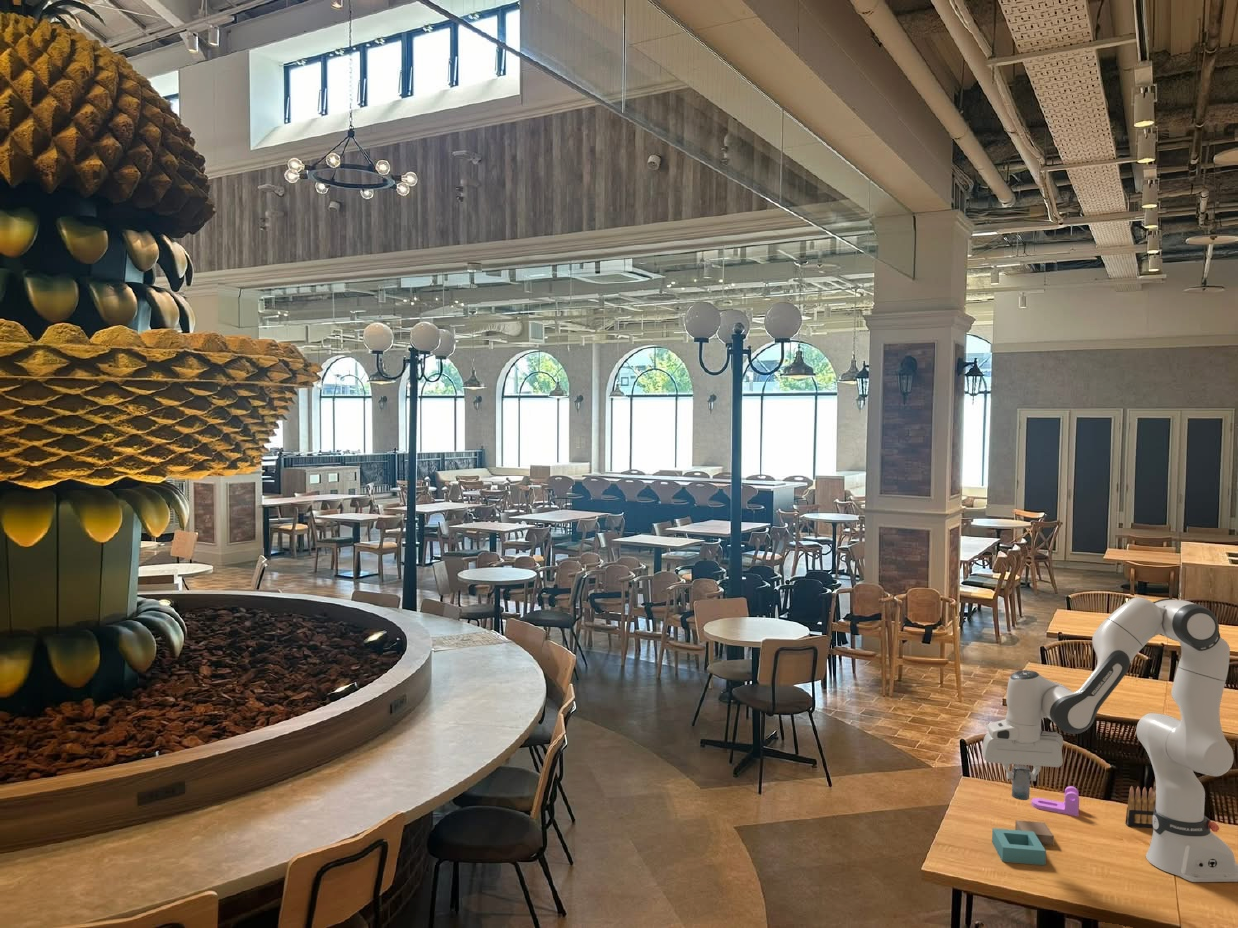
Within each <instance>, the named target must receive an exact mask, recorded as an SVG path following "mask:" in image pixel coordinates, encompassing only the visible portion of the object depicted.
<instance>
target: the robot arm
mask: <svg viewBox="0 0 1238 928" xmlns="http://www.w3.org/2000/svg"><path fill="white" fill-rule="evenodd" d="M1156 636H1162V637H1165V638H1167V639H1168V640H1169V639H1170V640H1172V641H1175V642H1178V643H1179V644H1180V649H1181V651H1180V652H1181V654H1180V659H1179V662H1178V664H1177V669H1176V672H1175V677H1174V680H1173V683H1172V687H1171V690H1170V691H1171V692H1170V693H1171V694H1170V695H1171V698H1172V699H1173V701H1174V702H1175V704H1176V705H1177V707H1178V709H1179V713H1180V719H1178V718H1176V717H1173V716H1171V715H1167V714H1162V713H1157V712H1156V713H1155V712H1149V713H1146V714H1144V715H1143V716H1142V717H1141V718H1140V719H1139V721H1138V722H1137V725H1136V737H1137V740H1138V741H1139V742H1140V743H1141V745H1142V747H1143V748H1144V749H1145V751H1146V752H1147V756H1148V757H1149V760H1150V763H1151V765H1152V770H1153V773H1154V777H1155V779H1154V780H1155V791H1156V806H1155V807H1154V811H1153V828H1152V834H1151V835H1152V836H1151V841H1150V844H1149V848H1148V850H1147V851H1146V855H1145V857H1146V859H1147V862H1149V863H1150V864H1151V865H1153V866H1154V867H1156V868H1158V869H1159V870H1161V871H1164V872H1167V873H1169V874H1172V875H1175V876H1177V877H1180V878H1182V879H1184V880H1186V881H1188V882H1191V883H1217V882H1218V883H1220V882H1221V883H1223V882H1225V883H1228V882H1230V883H1231V882H1233V883H1238V863H1237V861H1236V858H1235V853H1234V852H1233V850H1232V849H1231V847H1230V846H1229V845H1228V844H1227V843H1226V842H1225V841H1223V839H1221V838H1220V837H1219V836H1218V835H1216V834H1215V833H1217V832H1218V831H1220V826H1219V825H1218V824H1216V822H1215V821H1212V820H1211V819H1210V818H1208V817H1207V816H1206V815H1205V804H1206V803H1205V802H1206V799H1205V798H1206V790H1205V788H1204V786H1203V784H1202V782H1200V780H1199V779H1198V777H1197V775H1196V774H1195V773H1200V774H1202V775H1207V776H1211V777H1220V776H1223V775H1225V774H1226V773H1227V772H1228V771H1229V770H1231V768H1232V766H1233V763H1234V760H1235V759H1234V751H1233V749H1232V747H1231V745H1230V744H1229V742H1228V741H1227V738H1226V737H1225V735H1224V731H1223V729H1222V724H1221V718H1220V717H1221V715H1220V713H1221V711H1220V710H1221V703H1222V699H1223V694H1224V690H1225V686H1226V682H1227V681H1226V680H1227V677H1228V672H1229V668H1230V667H1229V666H1230V656H1231V655H1230V654H1231V649H1230V645H1229V643H1228V642H1227V640H1225V639H1224V638H1223V637H1221V634H1220V625H1219V620H1218V618H1217V616H1216V615H1215V613H1214V612H1212V611H1211V610H1210V609H1209V608H1207V607H1206V606H1203V605H1202V604H1197V603H1195V602H1191V601H1188V600H1184V599H1183V600H1182V599H1181V600H1179V599H1175V598H1162V599H1158V600H1155V601H1151V600H1149V599H1148V598H1144V597H1139V596H1138V597H1137V596H1136V597H1133V598H1130V599H1129V600H1128V601H1125V602H1124V603H1123V604H1121V606H1119V607H1117V608H1116V610H1114V611H1113V612H1112V613H1111V614H1109V616H1108V617H1106V618H1105V620H1104V621H1103V622H1101V624H1100V625H1099V626H1098V627H1097V629H1095V632H1094V633H1093V635H1092V639H1091V640H1092V648H1093V650H1094V652H1095V654H1096V657H1097V659H1096V660H1097V664H1096V666H1095V669H1094V670H1093V671H1092V673H1091V674H1090V675H1089V676H1088V678H1087V679H1086V680H1085V682H1084V683H1083V684H1081V686H1080V688H1079V689H1078V690H1075V691H1072V690H1071V689H1070V688H1069V687H1067V686H1065V685H1063V684H1062V683H1060V682H1056V681H1054V680H1053V681H1052V680H1050V679H1047V678H1045V677H1044V676H1043V675H1041V674H1040V673H1038V672H1037V671H1034V670H1027V669H1023V670H1017V671H1015V672H1013V673H1011V675H1010V676H1009V678H1008V683H1007V688H1006V699H1005V700H1006V701H1005V702H1006V706H1007V711H1006V714H1005V719H1002V720H998V721H993V722H990V723H987V725H986V729H987V733H986V734H985V735H984V737H983V740H982V741H983V742H982V747H981V749H982V750H981V755H982V757H983V760H984V761H985V762H986V763H988V764H989V763H990V764H1002V766H1003V768H1004V770H1005V771H1006V779H1007V780H1012V779H1014V777H1013V776H1014V773H1013V770H1009V768H1011V767H1010V766H1011V765H1022V766H1033V769H1032V772H1031V771H1030V782H1036V781H1037V775H1038V774H1039V773H1040V771H1041V770H1042V767H1048V768H1049V767H1050V768H1060V767H1061V766H1062V765H1063V761H1064V760H1063V751H1062V748H1063V746H1064V738H1063V735H1061V734H1060V733H1058V732H1056V731H1045V730H1044V731H1042V719H1044V718H1045V719H1049V720H1050V721H1052V723H1053V724H1055V726H1056V727H1057V728H1059V730H1061V731H1062V732H1063V733H1067V734H1068V735H1069V734H1070V735H1077V734H1081V733H1083V732H1086V731H1087V730H1088V729H1089V728H1091V727H1092V725H1093V724H1094V721H1095V719H1096V717H1097V714H1098V711H1099V709H1100V708H1101V706H1102V705H1103V703H1104V702H1105V701H1106V700H1107V699H1108V698H1109V696H1110V695H1111V694H1112V693H1113V691H1114V690H1115V689H1116V687H1117V686H1118V685H1119V683H1120V682H1121V681H1122V679H1123V678H1124V677H1125V676H1126V674H1127V672H1128V671H1129V669H1130V666H1131V663H1132V661H1133V660H1134V658H1135V657H1136V656H1137V654H1138V653H1139V652H1140V651H1141V650H1142V649H1143V648H1144V647H1145V645H1147V644H1148V643H1149V641H1150V640H1151V639H1153V638H1154V637H1156ZM1194 772H1195V773H1194Z"/></svg>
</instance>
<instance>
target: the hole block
mask: <svg viewBox="0 0 1238 928" xmlns="http://www.w3.org/2000/svg"><path fill="white" fill-rule="evenodd" d="M991 843H992V845H993V847H994V849H995V850H996V853H997V854H998V856H999V859H1000V860H1001V862H1003V863H1004V862H1005V863H1014V864H1026V865H1037V866H1046V861H1047V860H1046V857H1047V851H1046V849H1045V847H1044V845H1042V844H1041V842H1040V841H1039V839H1038V838H1037V836H1036V834H1035V833H1034V832H1033V831H1020V830H1015V829H1005V828H996V827H995V828H994V827H993V828H992V834H991Z"/></svg>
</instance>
